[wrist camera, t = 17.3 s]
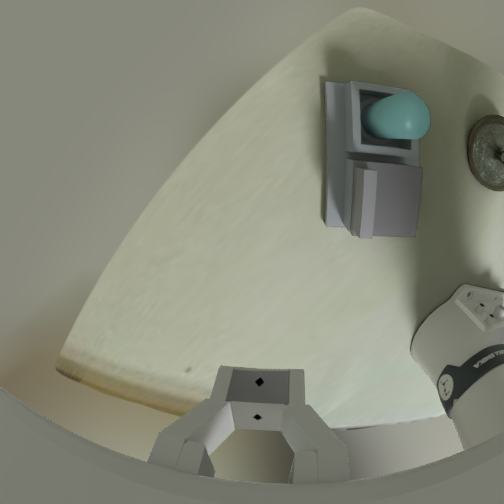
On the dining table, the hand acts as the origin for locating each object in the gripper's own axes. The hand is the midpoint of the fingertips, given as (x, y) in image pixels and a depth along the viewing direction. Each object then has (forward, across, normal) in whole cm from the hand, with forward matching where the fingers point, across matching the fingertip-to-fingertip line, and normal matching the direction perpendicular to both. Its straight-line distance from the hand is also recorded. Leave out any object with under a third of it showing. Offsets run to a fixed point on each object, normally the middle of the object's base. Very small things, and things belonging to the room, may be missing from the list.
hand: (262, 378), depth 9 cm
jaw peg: (+22, -11, -11) cm, 27 cm away
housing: (+23, -11, -7) cm, 27 cm away
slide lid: (+19, -11, -3) cm, 22 cm away
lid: (+24, -30, -10) cm, 39 cm away
